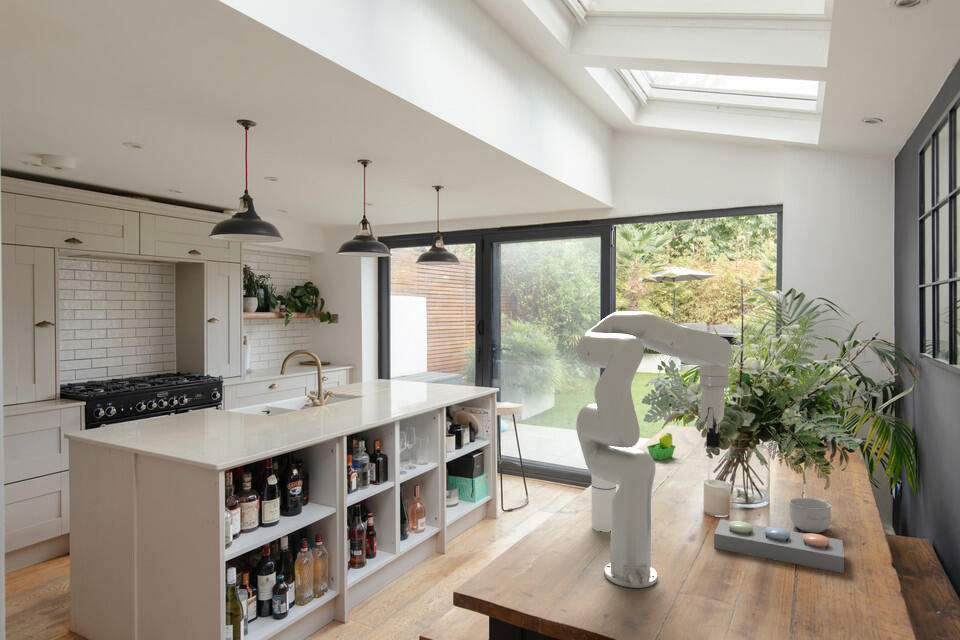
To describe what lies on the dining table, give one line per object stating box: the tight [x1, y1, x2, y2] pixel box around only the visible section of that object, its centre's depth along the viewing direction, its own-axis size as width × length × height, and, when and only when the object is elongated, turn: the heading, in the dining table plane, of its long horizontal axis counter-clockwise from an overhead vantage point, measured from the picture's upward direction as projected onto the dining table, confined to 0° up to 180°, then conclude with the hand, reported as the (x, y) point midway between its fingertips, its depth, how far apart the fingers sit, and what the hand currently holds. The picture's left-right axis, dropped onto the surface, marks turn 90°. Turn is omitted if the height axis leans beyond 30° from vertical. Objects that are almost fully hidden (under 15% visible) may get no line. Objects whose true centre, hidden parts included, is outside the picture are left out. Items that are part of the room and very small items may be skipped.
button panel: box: [713, 518, 845, 574], centre depth 155 cm, size 30×12×4 cm, turn 60°
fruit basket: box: [646, 432, 676, 461], centre depth 250 cm, size 11×9×11 cm
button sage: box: [729, 520, 753, 535], centre depth 160 cm, size 6×6×4 cm
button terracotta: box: [803, 532, 829, 549], centre depth 151 cm, size 6×6×4 cm
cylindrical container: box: [591, 474, 617, 533], centre depth 172 cm, size 7×7×25 cm
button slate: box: [765, 526, 790, 542], centre depth 155 cm, size 6×6×4 cm
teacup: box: [788, 497, 832, 534], centre depth 171 cm, size 14×11×8 cm
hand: (713, 446), depth 163 cm, fingers closed
